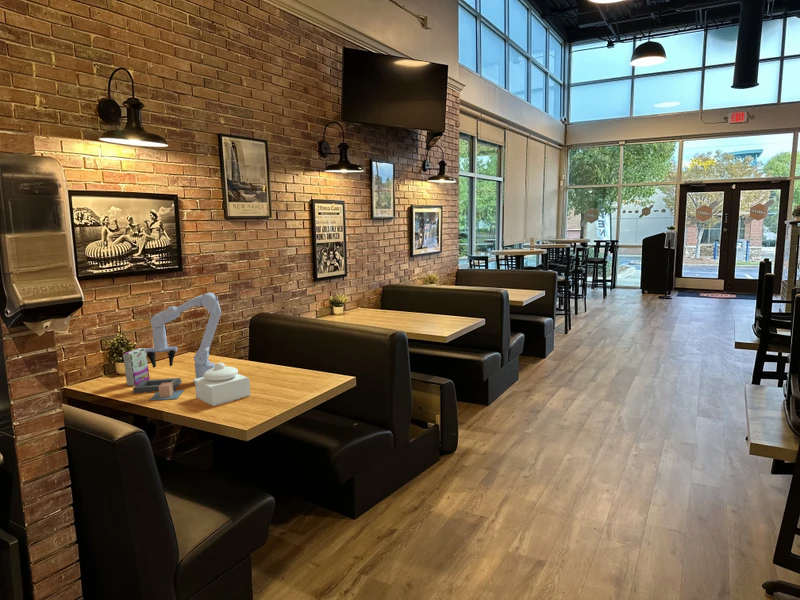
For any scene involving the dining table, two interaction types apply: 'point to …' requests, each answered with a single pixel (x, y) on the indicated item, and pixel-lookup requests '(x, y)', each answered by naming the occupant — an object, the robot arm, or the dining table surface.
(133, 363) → the candy bar box
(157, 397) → the rubber mat
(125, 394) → the dining table surface
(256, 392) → the dining table surface
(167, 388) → the coral block
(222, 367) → the white domed box
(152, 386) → the dark grey tray
